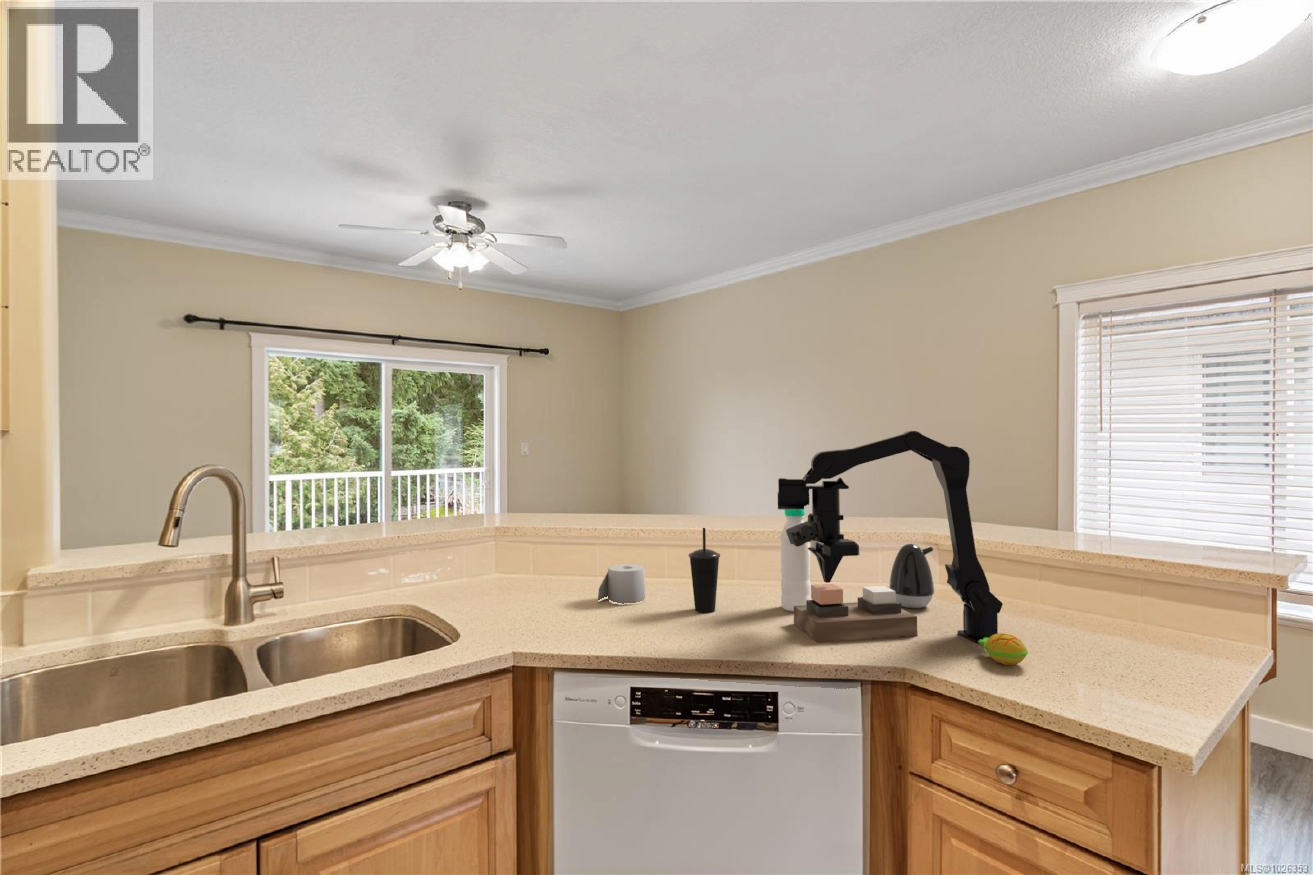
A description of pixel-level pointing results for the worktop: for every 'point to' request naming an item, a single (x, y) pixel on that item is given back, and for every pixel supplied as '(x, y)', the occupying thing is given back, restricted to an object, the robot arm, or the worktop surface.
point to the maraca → (1005, 648)
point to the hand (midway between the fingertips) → (827, 582)
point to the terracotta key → (827, 594)
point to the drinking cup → (704, 577)
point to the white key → (879, 595)
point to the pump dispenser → (912, 577)
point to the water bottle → (794, 566)
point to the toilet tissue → (624, 584)
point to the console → (854, 620)
